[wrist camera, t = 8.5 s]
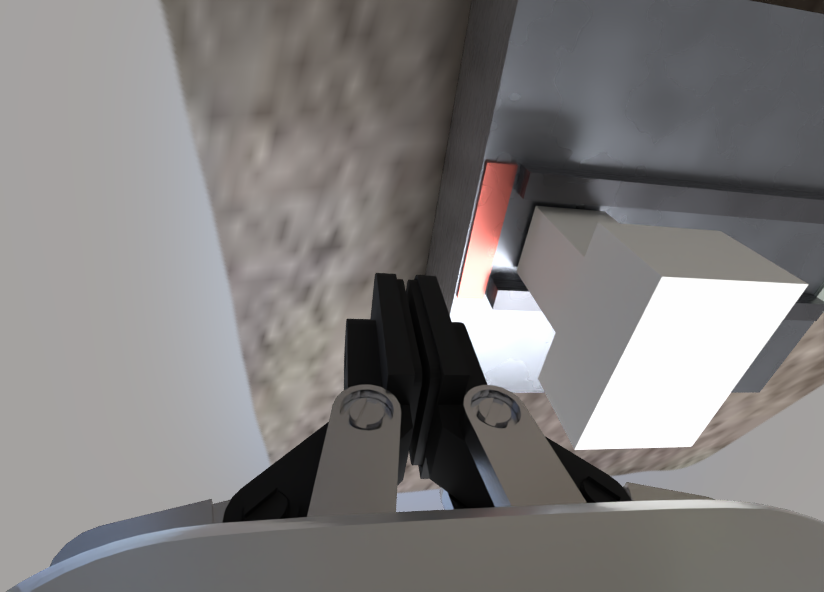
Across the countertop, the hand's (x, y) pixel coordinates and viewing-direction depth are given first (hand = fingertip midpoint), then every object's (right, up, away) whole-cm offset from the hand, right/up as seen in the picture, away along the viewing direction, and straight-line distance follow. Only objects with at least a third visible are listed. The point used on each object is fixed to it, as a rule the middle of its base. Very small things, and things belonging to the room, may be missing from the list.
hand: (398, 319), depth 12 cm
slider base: (+12, +6, +12) cm, 18 cm away
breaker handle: (+7, +3, +6) cm, 9 cm away
